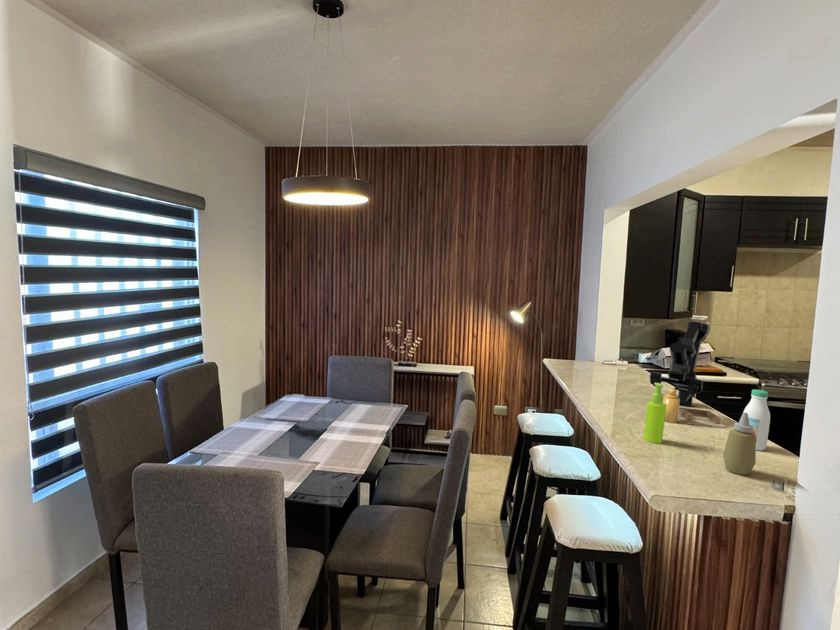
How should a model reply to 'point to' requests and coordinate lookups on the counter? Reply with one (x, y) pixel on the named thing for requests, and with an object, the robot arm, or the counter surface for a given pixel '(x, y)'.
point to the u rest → (700, 417)
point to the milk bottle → (759, 417)
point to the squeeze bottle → (740, 447)
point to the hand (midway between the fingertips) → (671, 399)
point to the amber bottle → (671, 406)
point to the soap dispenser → (655, 417)
